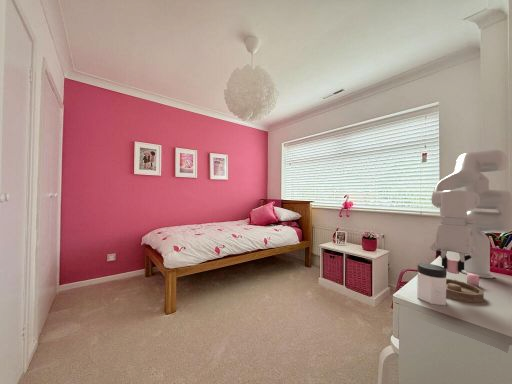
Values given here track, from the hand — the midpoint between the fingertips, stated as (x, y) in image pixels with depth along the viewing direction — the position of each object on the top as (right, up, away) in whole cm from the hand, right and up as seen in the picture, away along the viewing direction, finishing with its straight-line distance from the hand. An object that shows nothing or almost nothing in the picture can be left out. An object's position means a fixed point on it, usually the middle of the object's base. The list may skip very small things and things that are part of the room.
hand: (452, 269), depth 80 cm
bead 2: (+19, -11, +11) cm, 25 cm away
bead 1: (0, -1, 0) cm, 1 cm away
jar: (-11, -10, -4) cm, 16 cm away
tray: (+3, -10, +3) cm, 11 cm away
